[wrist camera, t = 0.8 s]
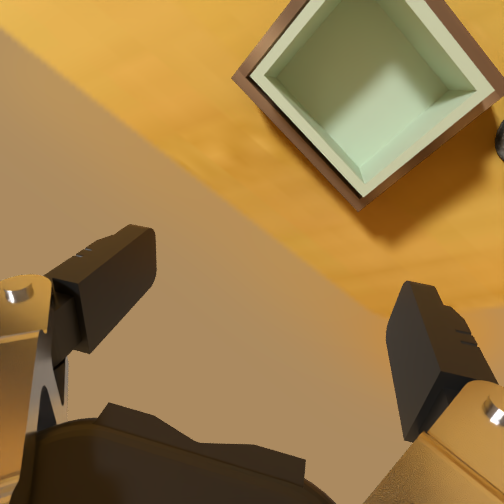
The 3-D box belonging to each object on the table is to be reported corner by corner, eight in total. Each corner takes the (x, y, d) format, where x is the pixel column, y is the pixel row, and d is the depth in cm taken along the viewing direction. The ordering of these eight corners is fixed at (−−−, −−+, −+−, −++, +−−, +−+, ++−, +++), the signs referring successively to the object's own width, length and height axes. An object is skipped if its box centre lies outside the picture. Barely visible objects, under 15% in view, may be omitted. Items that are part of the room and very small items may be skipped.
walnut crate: (361, -69, 24) (367, -99, 20) (486, 88, 27) (512, 88, 23) (244, 79, 30) (231, 78, 26) (355, 196, 33) (358, 212, 29)
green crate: (359, -35, 25) (367, -72, 19) (460, 89, 27) (495, 90, 21) (266, 78, 29) (249, 76, 23) (357, 177, 31) (363, 197, 25)
